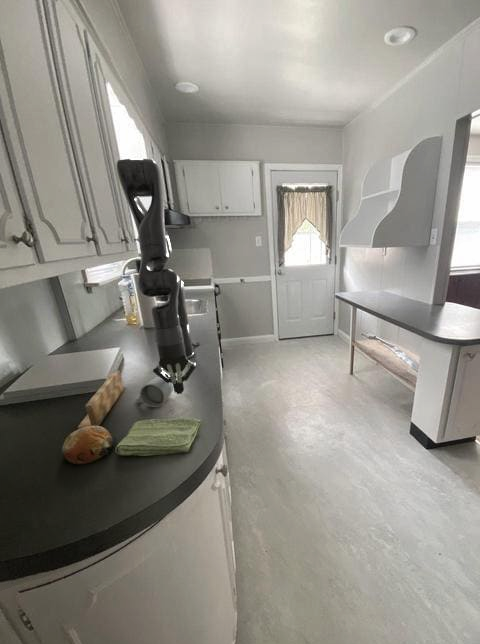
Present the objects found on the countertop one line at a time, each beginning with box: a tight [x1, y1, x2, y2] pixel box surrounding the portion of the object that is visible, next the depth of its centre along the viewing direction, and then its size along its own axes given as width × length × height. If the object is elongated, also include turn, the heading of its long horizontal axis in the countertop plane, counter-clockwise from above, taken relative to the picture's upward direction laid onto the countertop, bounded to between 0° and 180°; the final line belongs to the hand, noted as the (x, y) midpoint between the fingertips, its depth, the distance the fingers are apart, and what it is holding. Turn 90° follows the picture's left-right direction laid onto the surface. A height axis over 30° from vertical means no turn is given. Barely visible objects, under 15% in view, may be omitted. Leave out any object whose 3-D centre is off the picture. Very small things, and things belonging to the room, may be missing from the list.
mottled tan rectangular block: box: [77, 369, 124, 430], centre depth 91 cm, size 24×5×7 cm, turn 11°
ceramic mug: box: [136, 376, 174, 408], centre depth 94 cm, size 11×8×8 cm
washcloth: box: [115, 417, 202, 457], centre depth 76 cm, size 13×18×3 cm
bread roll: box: [61, 425, 114, 465], centre depth 72 cm, size 10×10×8 cm
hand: (179, 392), depth 96 cm, fingers closed
